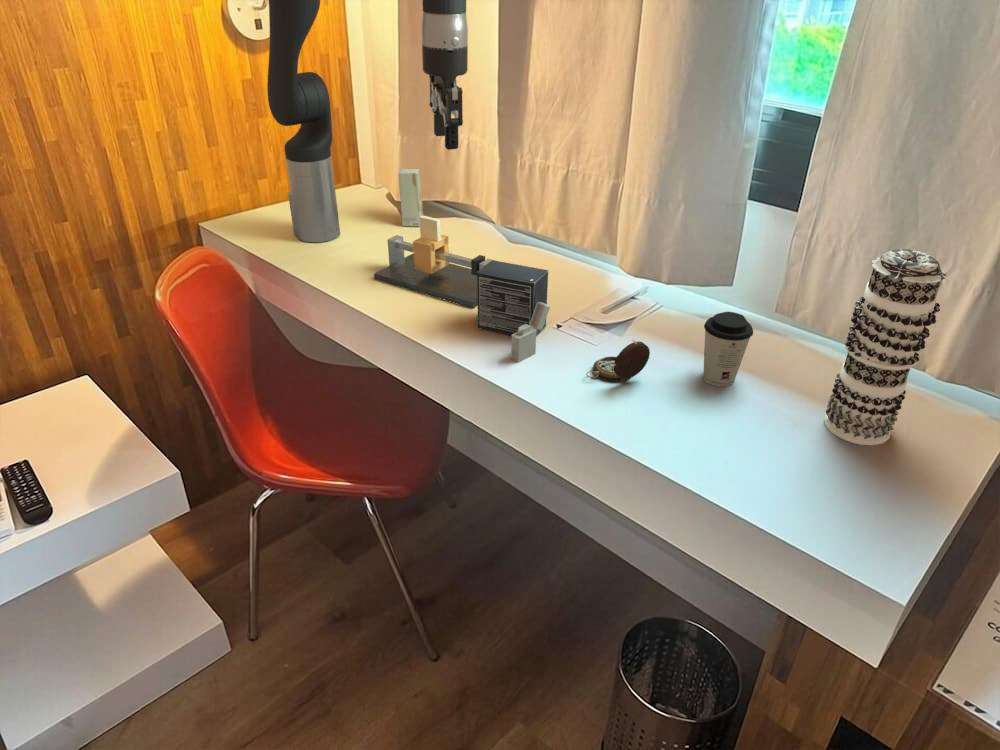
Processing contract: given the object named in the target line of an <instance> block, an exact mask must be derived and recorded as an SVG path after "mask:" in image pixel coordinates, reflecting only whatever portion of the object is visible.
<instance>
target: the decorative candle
mask: <svg viewBox="0 0 1000 750" xmlns="http://www.w3.org/2000/svg"><path fill="white" fill-rule="evenodd" d="M871 266H872V267H873V269H872V272H871V275H870V279H869V281H868V282H867V283H866V287H865V290H864V293H863V295H862V296H861V297H859V299H858V300H856V301H855V306H854V308H853V309H854V310H853V312H852V316H851V319H850V321H851V322H852V324H851V325H850V326H849V331H848V333H847V337H846V341H845V343H844V346H845V349H846V351H847V355H846V359H845V361H844V362H843V364H842V367H841V370H840V372H838V373H837V374H836V378H835V379H834V384H833V388H832V390H831V392H832V393H831V394H830V396H829V400H828V404H827V406H826V409H825V416H824V420H823V423H824V424H825V427H826V429H827V430H828V431H830V432H831V433H832V434H833V435H834V436H836V437H838V438H840V439H841V440H844V441H845V442H847V443H852V444H856V445H858V446H859V445H861V446H872V447H874V446H879V445H883V444H885V443H886V442H887V441H888V440H889V439H890V437H891V431H894V425H895V424H896V423H895V422H897V421H898V417H897V416H898V415H899V412H898V411H900V410H901V409H902V403H903V401H904V400H905V399H906V387H907V383H908V377H909V374H910V371H911V368H913V367H914V366H916V365H917V363H918V362H919V361H920V354H919V353H918V352H920V350H923V349H925V348H926V341H925V339H927V338H929V337H930V335H931V334H930V330H929V328H928V327H930V326H931V325H934V324H936V323H937V315H936V314H937V313H938V312H940V311H941V308H940V306H941V305H940V303H938V302H937V301H938V300H937V297H938V293H939V290H940V287H941V284H942V281H943V280H945V279H946V278H947V273H946V272H945V271H944V270H943V268H941V266H940V263H939V261H938V260H937V259H936V258H935V257H934V256H933V255H930V254H928V253H926V252H923V251H919V250H916V249H915V250H913V249H905V248H896V249H891V250H889V251H888V252H885V253H883V254H882V255H881V256H878V257H876V258H874V259H872V261H871ZM862 304H863V305H862Z"/></svg>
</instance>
